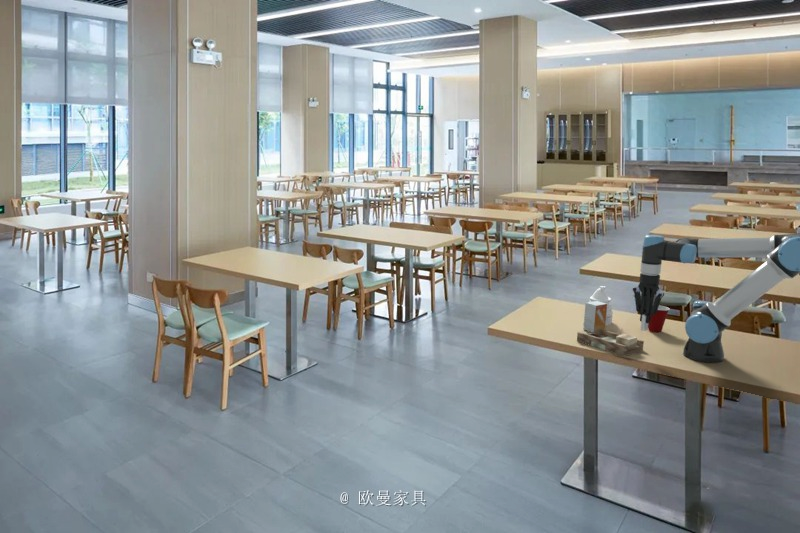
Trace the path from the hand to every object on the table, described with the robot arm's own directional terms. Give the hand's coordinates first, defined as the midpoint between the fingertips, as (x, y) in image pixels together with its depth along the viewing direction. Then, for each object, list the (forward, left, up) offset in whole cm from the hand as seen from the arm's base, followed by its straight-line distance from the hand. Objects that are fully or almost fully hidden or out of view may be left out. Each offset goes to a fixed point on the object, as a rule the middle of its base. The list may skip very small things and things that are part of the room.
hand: (644, 329), depth 261 cm
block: (+8, 0, -9) cm, 12 cm away
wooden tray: (+16, 0, -11) cm, 19 cm away
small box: (+34, -14, -11) cm, 38 cm away
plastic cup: (+17, -37, -11) cm, 42 cm away
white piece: (+42, -28, -11) cm, 51 cm away
